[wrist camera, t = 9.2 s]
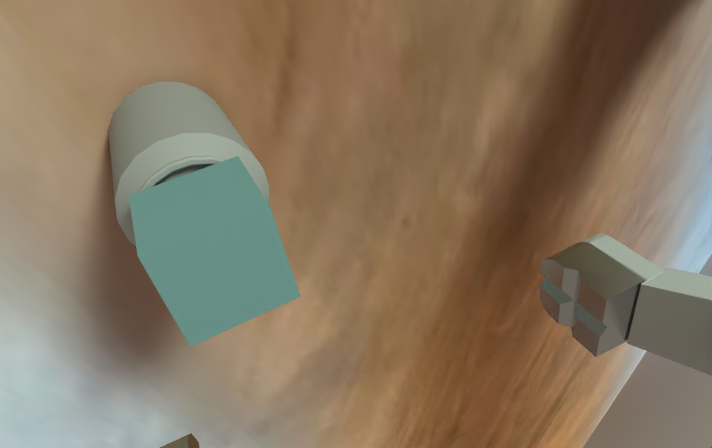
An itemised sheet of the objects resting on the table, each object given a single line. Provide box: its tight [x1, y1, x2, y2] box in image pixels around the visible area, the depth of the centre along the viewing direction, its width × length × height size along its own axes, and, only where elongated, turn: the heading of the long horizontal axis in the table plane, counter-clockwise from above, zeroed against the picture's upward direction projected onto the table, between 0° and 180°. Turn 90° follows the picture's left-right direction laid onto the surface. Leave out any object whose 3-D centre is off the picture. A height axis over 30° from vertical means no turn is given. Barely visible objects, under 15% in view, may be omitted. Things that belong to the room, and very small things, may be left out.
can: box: [108, 82, 269, 247], centre depth 28 cm, size 8×8×12 cm
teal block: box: [129, 156, 300, 347], centre depth 21 cm, size 5×5×5 cm
